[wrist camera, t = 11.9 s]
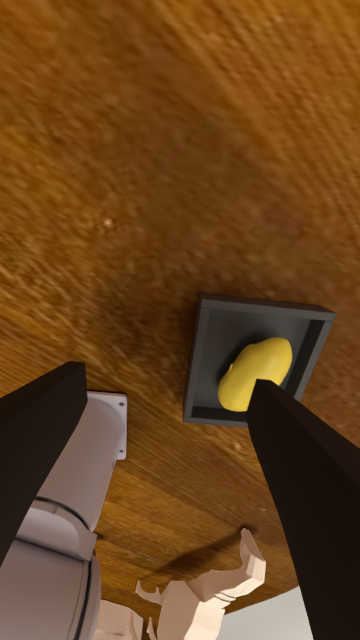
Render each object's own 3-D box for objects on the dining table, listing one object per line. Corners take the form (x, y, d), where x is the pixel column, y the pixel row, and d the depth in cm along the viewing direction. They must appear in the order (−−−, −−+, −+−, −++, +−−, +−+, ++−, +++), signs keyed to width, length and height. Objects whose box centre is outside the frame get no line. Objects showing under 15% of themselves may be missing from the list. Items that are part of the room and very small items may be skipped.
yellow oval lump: (201, 380, 19) (206, 412, 15) (261, 318, 17) (284, 339, 13) (233, 400, 20) (245, 435, 16) (294, 344, 18) (324, 371, 14)
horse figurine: (172, 518, 44) (272, 537, 28) (144, 659, 31) (292, 825, 16) (155, 510, 43) (248, 525, 27) (118, 652, 30) (251, 825, 15)
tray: (278, 414, 21) (287, 431, 19) (182, 406, 21) (182, 422, 19) (320, 305, 17) (337, 313, 15) (199, 292, 16) (201, 298, 15)
